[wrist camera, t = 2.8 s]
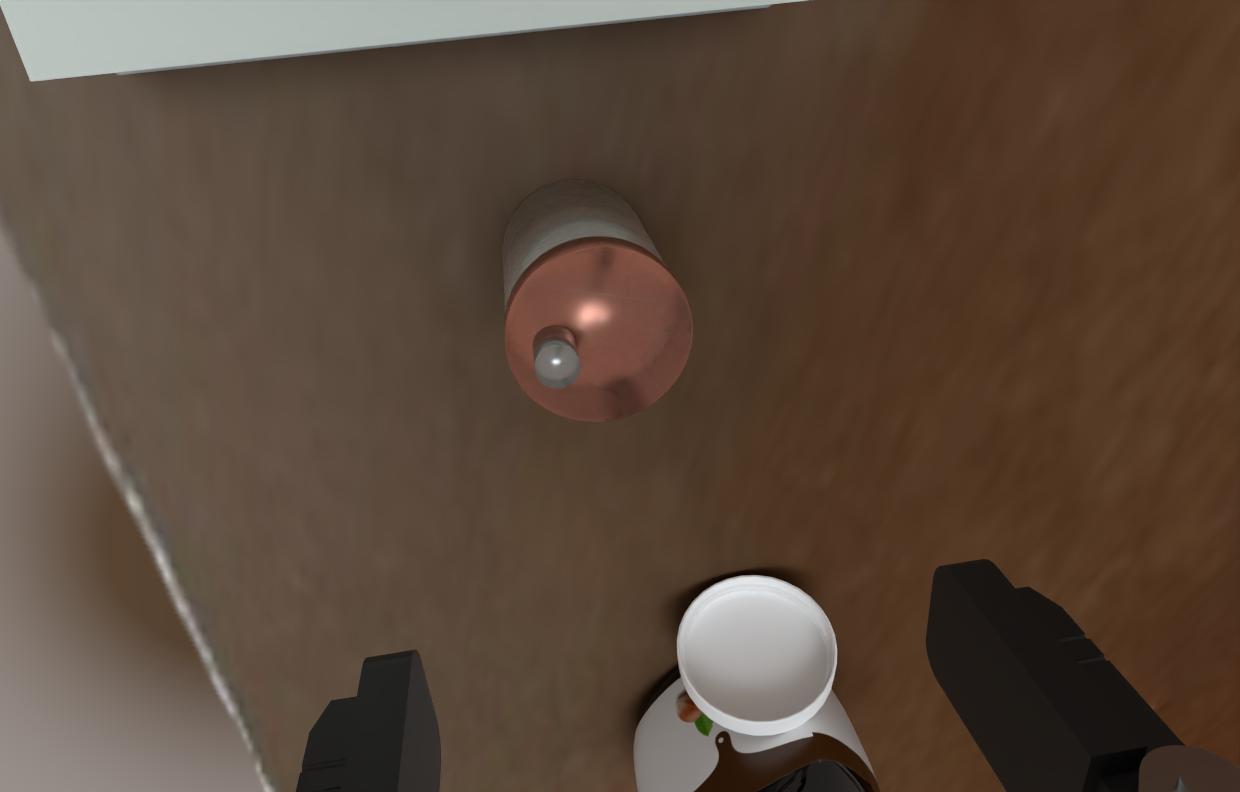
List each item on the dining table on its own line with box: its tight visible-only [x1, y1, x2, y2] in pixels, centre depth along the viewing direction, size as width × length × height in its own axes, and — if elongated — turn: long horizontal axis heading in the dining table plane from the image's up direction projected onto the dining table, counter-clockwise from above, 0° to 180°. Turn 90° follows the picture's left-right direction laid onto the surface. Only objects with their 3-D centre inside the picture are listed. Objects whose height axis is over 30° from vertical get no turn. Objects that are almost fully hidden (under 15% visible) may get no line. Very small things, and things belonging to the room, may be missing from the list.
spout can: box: [502, 179, 693, 422], centre depth 26 cm, size 5×5×10 cm
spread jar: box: [633, 575, 880, 792], centre depth 36 cm, size 12×11×12 cm
